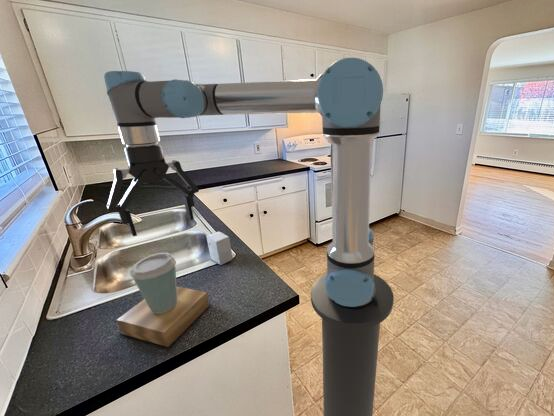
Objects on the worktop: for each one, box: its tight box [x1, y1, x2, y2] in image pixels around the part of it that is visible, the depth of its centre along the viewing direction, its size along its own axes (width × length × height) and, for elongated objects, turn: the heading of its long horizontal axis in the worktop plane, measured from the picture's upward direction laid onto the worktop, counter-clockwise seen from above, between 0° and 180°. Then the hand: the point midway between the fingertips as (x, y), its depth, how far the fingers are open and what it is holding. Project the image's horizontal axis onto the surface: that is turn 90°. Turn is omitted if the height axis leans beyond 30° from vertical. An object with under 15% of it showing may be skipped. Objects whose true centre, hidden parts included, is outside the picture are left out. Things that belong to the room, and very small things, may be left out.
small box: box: [205, 231, 234, 266], centre depth 106 cm, size 8×6×10 cm
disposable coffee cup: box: [129, 252, 178, 314], centre depth 74 cm, size 11×11×15 cm
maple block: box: [116, 285, 210, 348], centre depth 77 cm, size 16×16×5 cm
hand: (164, 225), depth 71 cm, fingers open, 13 cm apart
